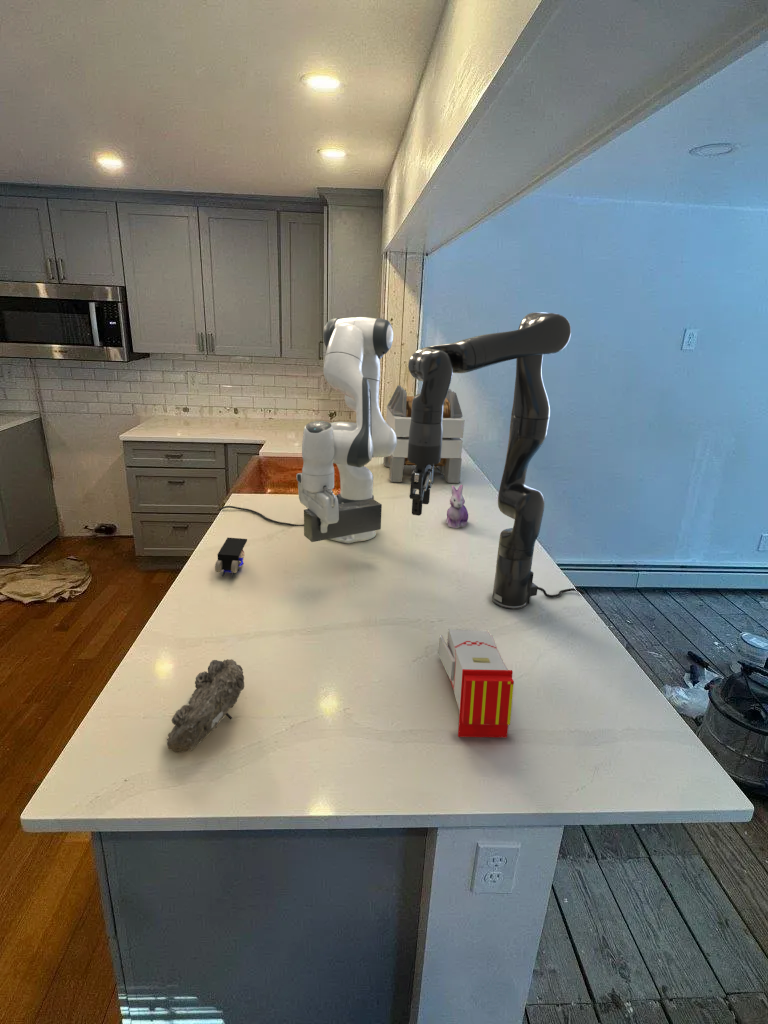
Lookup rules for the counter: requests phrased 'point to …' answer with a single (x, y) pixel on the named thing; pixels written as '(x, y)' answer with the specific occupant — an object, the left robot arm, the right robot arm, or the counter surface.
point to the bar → (345, 520)
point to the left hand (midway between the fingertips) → (318, 527)
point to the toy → (478, 682)
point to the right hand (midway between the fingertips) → (420, 509)
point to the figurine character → (230, 556)
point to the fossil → (206, 705)
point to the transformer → (452, 432)
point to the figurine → (457, 509)
